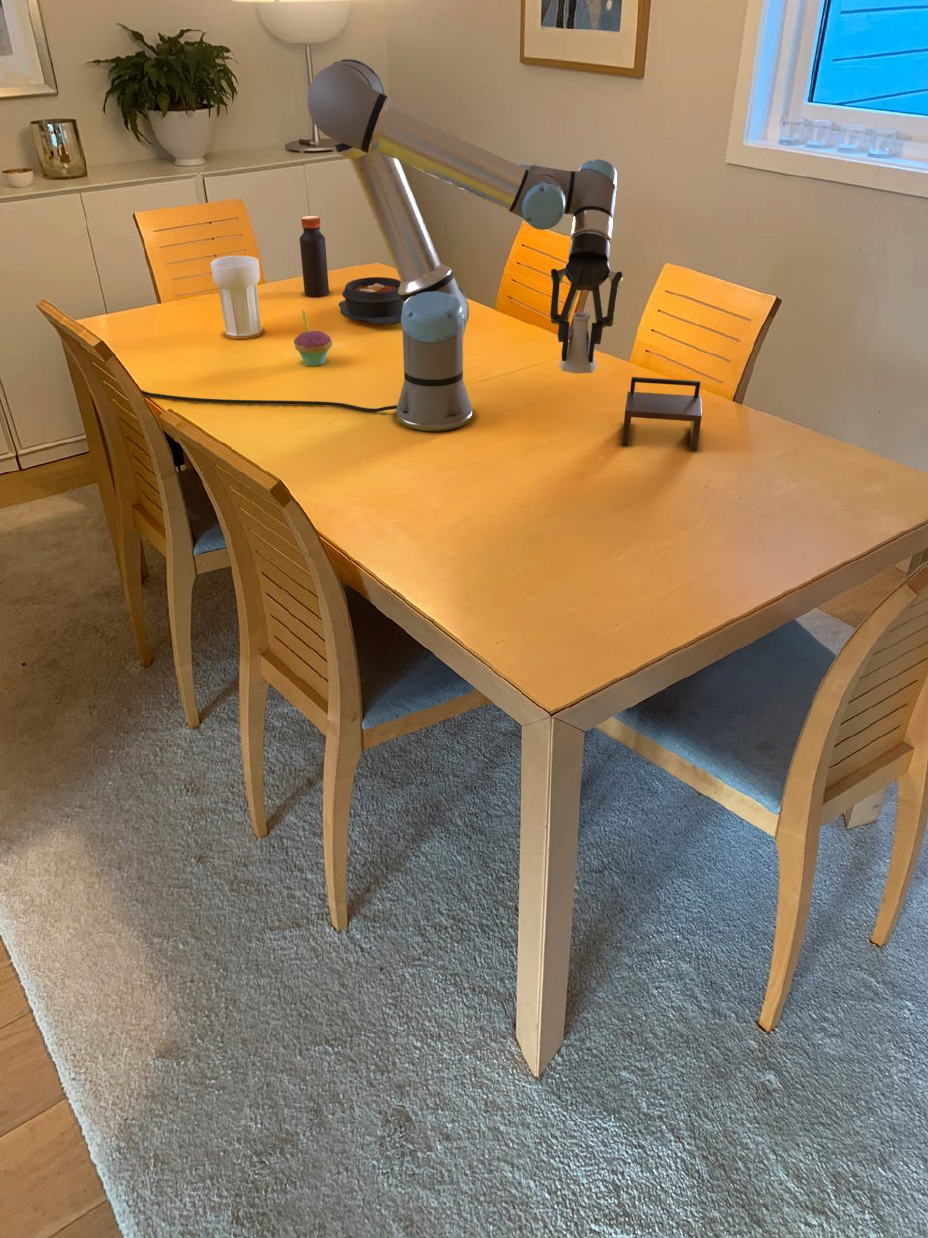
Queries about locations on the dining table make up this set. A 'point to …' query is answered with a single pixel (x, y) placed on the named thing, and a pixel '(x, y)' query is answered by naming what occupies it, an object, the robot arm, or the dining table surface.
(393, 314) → the casserole
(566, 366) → the flask
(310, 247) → the bottle
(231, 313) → the cup
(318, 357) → the cupcake
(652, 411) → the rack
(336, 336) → the dining table surface
